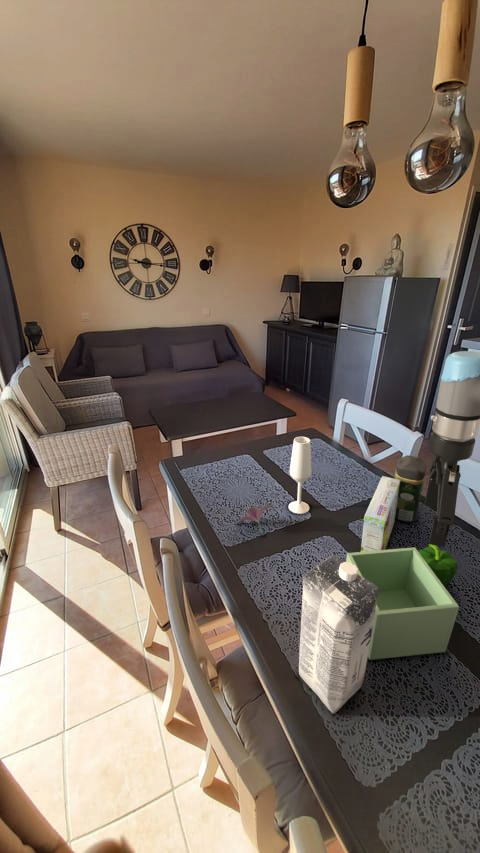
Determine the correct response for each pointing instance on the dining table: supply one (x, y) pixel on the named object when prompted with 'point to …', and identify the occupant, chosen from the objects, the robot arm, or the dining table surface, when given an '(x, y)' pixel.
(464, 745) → the dining table surface
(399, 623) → the open storage box
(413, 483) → the coffee jar
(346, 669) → the juice carton
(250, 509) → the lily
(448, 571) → the bell pepper
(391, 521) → the snack box
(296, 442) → the champagne flute
